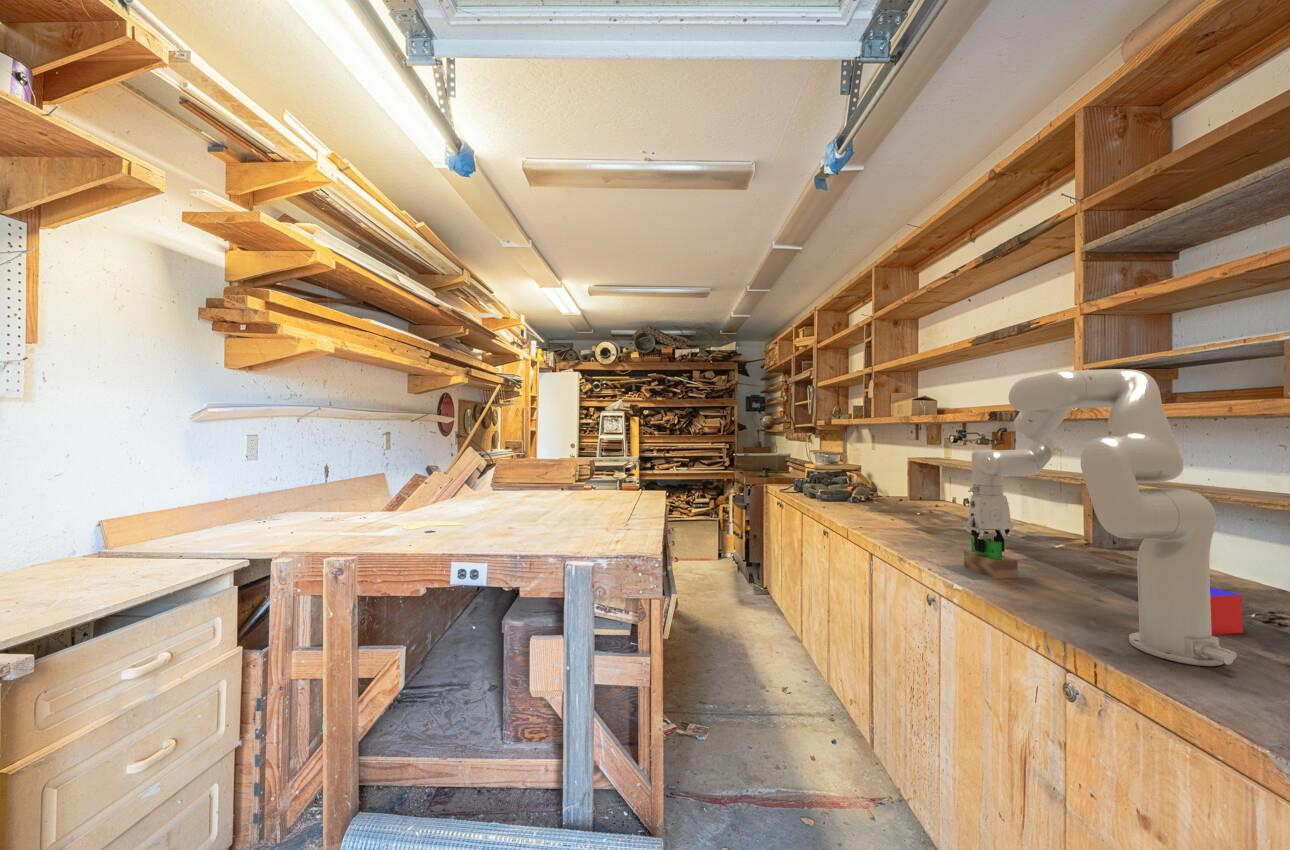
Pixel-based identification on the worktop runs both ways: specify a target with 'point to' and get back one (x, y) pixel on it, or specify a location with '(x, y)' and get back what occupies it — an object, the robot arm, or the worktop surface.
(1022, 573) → the mat
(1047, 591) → the worktop surface
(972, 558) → the base brick
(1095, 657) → the worktop surface
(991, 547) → the green notched block
